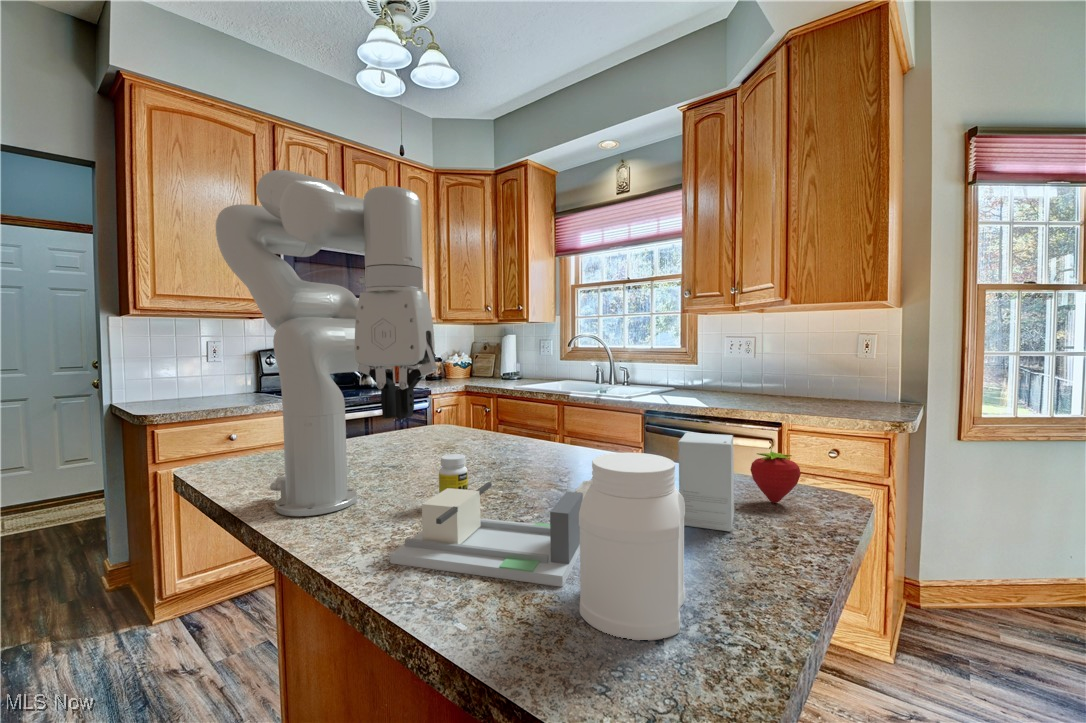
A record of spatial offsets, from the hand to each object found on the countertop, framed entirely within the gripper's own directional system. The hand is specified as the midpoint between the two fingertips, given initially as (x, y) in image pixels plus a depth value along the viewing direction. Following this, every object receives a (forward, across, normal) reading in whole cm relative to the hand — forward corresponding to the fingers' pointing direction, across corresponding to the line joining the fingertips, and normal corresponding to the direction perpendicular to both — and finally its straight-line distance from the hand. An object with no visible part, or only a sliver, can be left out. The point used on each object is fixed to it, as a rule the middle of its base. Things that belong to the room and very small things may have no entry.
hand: (397, 416), depth 67 cm
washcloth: (+18, +26, +22) cm, 39 cm away
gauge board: (+17, +14, 0) cm, 22 cm away
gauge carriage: (+16, +8, 0) cm, 18 cm away
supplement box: (+17, +41, +18) cm, 48 cm away
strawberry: (+17, +52, +29) cm, 62 cm away
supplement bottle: (+17, +1, +14) cm, 22 cm away
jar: (+17, +33, -9) cm, 38 cm away
